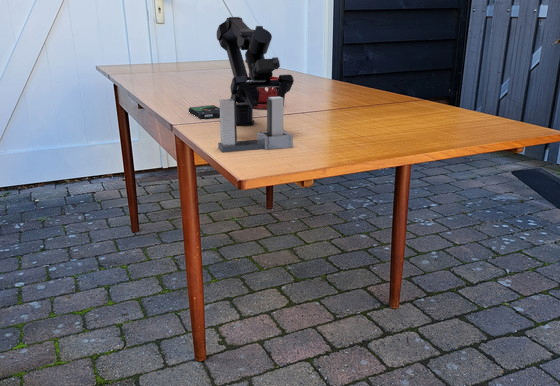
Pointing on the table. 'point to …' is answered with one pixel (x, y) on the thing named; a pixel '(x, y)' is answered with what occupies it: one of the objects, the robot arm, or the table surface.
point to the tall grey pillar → (275, 116)
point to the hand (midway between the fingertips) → (268, 107)
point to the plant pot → (266, 95)
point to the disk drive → (205, 112)
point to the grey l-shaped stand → (262, 142)
